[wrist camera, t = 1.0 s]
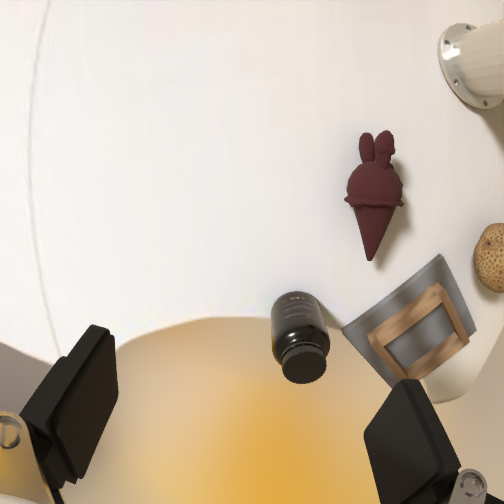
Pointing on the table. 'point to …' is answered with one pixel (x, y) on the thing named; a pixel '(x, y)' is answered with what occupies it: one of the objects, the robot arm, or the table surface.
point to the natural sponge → (491, 257)
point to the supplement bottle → (299, 337)
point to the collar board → (414, 325)
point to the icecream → (374, 189)
